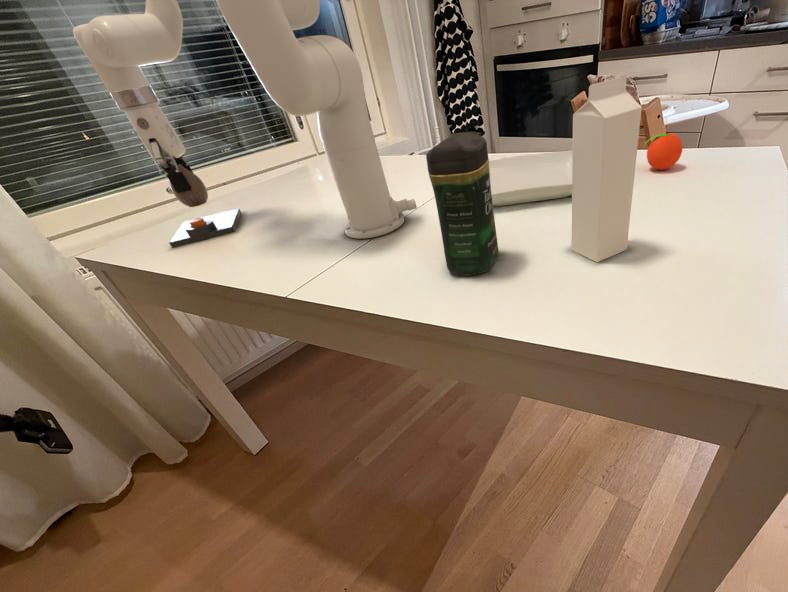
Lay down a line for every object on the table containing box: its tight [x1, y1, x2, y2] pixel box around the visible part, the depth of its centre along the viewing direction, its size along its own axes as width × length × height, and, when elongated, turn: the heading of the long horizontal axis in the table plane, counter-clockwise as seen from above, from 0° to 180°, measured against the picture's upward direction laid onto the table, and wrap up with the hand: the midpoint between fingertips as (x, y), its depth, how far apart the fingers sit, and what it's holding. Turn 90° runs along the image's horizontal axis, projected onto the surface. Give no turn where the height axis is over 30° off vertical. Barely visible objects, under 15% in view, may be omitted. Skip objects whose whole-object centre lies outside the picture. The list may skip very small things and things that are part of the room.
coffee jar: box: [425, 131, 499, 276], centre depth 58 cm, size 10×8×19 cm
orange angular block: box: [188, 217, 206, 228], centre depth 92 cm, size 3×3×2 cm
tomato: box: [643, 132, 683, 171], centre depth 84 cm, size 8×7×7 cm
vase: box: [169, 165, 209, 208], centre depth 94 cm, size 7×7×9 cm
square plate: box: [489, 149, 573, 207], centre depth 88 cm, size 27×27×4 cm
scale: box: [168, 207, 243, 249], centre depth 98 cm, size 14×16×3 cm
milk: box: [570, 75, 643, 263], centre depth 55 cm, size 6×6×22 cm
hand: (187, 186), depth 94 cm, fingers closed on vase, 6 cm apart
